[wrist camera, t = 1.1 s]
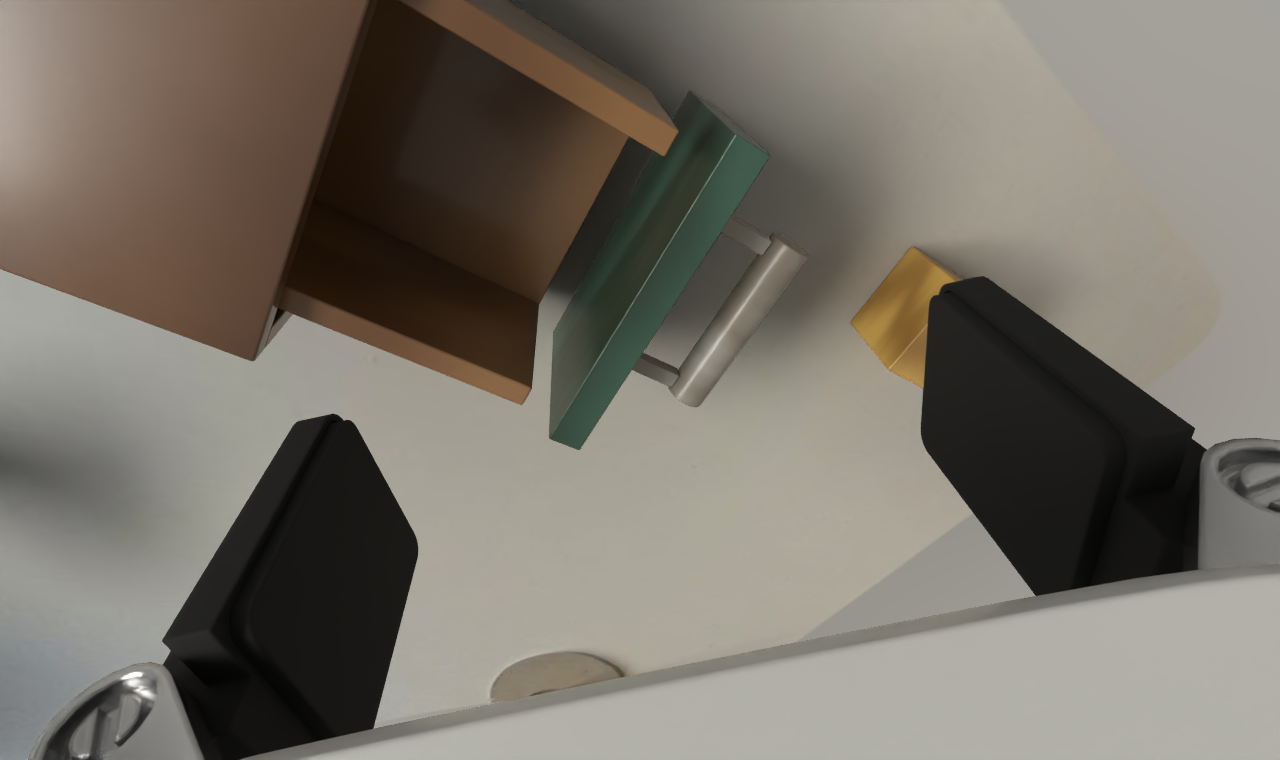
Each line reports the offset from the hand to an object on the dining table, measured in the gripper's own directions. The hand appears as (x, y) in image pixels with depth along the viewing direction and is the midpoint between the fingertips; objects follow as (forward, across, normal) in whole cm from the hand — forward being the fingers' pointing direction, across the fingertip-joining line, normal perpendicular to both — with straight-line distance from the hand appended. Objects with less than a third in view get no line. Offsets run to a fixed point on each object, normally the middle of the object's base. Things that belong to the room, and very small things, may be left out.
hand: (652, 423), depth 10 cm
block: (+18, -13, +10) cm, 24 cm away
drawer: (+17, +3, 0) cm, 17 cm away
